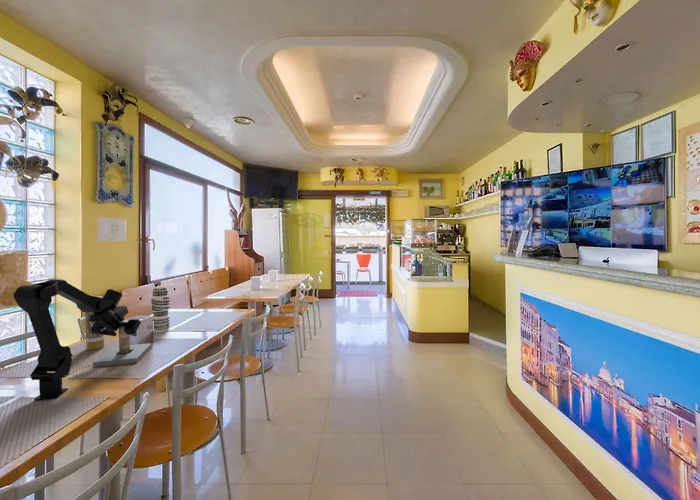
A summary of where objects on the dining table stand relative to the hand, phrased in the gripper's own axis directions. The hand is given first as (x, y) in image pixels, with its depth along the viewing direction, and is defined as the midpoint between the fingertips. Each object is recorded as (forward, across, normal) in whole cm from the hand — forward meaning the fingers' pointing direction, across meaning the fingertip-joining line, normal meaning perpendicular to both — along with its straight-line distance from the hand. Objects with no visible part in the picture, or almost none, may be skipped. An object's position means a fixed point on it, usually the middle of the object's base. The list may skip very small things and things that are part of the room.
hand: (125, 335), depth 146 cm
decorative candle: (+35, +8, -21) cm, 41 cm away
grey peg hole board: (+6, 0, +7) cm, 9 cm away
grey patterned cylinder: (+13, +22, 0) cm, 25 cm away
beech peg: (+6, 0, +7) cm, 9 cm away
